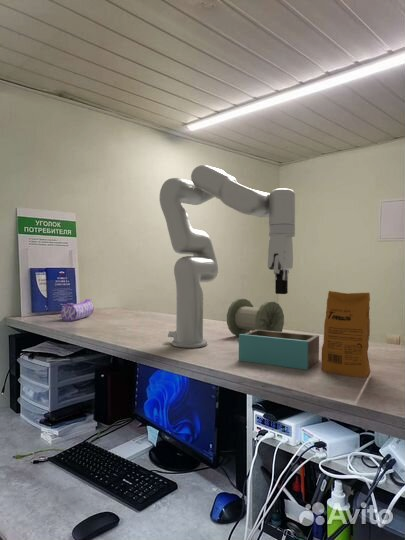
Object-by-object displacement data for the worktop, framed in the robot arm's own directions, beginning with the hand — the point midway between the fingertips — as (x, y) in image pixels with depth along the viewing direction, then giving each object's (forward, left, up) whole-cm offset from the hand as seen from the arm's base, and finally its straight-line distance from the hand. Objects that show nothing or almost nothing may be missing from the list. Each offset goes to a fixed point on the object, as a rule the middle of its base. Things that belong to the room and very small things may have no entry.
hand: (281, 293), depth 119 cm
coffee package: (+19, -3, -21) cm, 28 cm away
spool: (-21, +33, -21) cm, 44 cm away
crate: (0, 0, -20) cm, 20 cm away
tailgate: (0, -7, -20) cm, 21 cm away
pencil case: (-120, +35, -21) cm, 127 cm away
